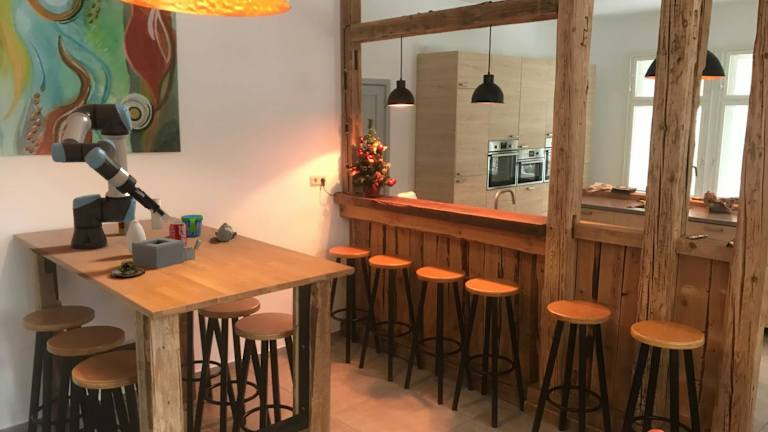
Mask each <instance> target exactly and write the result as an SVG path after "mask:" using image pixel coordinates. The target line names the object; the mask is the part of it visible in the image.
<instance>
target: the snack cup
mask: <svg viewBox="0 0 768 432" xmlns="http://www.w3.org/2000/svg"><path fill="white" fill-rule="evenodd" d="M180 220H181V222H185V225H186V237H187V238H196V237H200V236H201V233H202V225H203V220H204V216H203V215H201V214H187V215H181V216H180Z"/></svg>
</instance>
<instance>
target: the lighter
mask: <svg viewBox="0 0 768 432" xmlns="http://www.w3.org/2000/svg"><path fill="white" fill-rule="evenodd" d="M201 244H202V240H201V239H200V240H199V239H196V242H195V244H194V246H193V247H192V246H187V248H186V250H184V261H190V260H191V261H193V260H196V251H199V249H200V246H201Z"/></svg>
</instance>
